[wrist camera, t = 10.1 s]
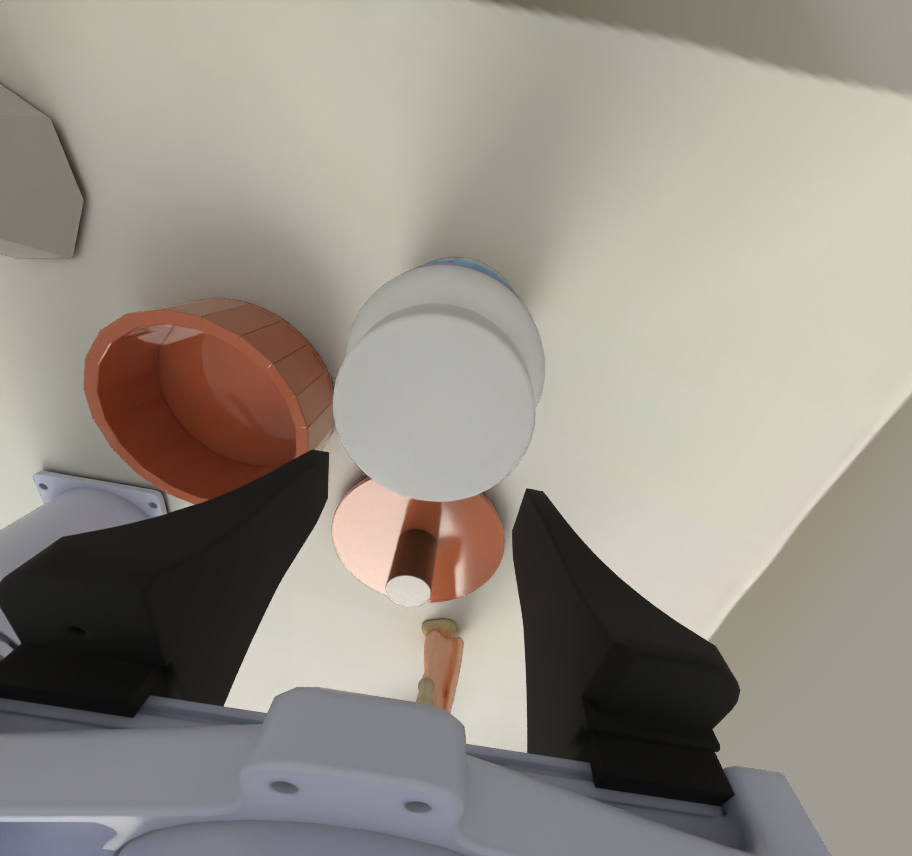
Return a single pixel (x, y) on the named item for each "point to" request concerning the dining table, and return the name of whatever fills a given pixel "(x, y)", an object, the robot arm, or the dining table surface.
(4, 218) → the flask
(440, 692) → the grandmother figurine
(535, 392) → the pill bottle
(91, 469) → the dining table surface
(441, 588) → the lid
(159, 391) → the bowl
